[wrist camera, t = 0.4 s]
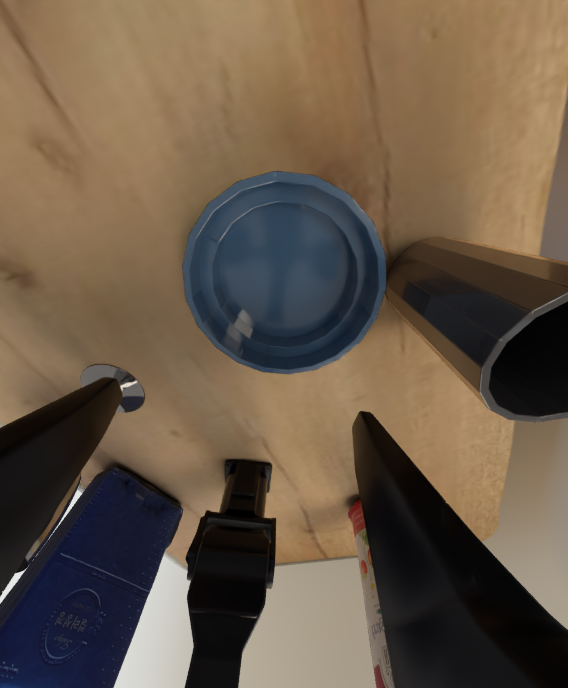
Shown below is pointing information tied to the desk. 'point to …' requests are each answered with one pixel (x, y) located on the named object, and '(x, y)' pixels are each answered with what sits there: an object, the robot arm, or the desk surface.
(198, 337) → the desk surface
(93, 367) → the wine glass
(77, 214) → the desk surface
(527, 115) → the desk surface
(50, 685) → the blue box
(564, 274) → the cup
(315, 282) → the bowl
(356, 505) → the liquor
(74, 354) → the desk surface
